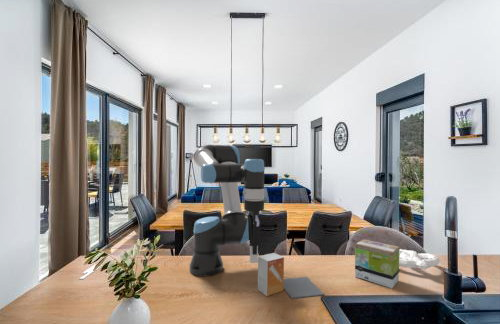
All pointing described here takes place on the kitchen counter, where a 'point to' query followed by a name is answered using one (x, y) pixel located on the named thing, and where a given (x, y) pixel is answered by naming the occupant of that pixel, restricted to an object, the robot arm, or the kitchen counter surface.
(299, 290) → the mat
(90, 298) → the kitchen counter surface
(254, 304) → the kitchen counter surface
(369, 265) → the tea box
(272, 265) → the small box
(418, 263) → the white towel
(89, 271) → the white plastic blade
